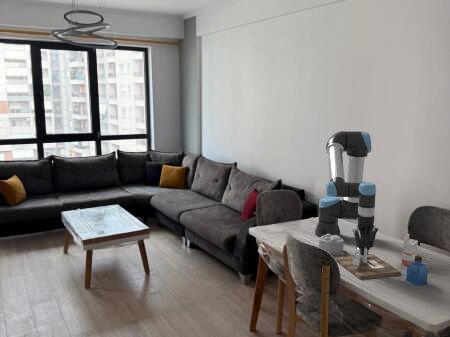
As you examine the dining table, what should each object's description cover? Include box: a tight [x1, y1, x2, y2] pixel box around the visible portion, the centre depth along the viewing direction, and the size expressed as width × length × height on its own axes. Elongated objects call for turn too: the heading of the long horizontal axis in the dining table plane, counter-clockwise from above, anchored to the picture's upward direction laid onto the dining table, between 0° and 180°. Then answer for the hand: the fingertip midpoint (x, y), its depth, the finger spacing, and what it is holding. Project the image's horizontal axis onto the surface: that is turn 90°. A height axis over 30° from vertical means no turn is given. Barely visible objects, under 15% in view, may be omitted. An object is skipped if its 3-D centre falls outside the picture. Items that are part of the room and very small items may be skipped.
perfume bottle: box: [405, 255, 429, 287], centre depth 188 cm, size 6×6×12 cm
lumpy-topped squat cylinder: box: [317, 234, 345, 256], centre depth 225 cm, size 10×13×9 cm
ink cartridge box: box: [401, 233, 419, 267], centre depth 208 cm, size 9×5×15 cm, turn 141°
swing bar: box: [353, 246, 361, 266], centre depth 206 cm, size 21×4×7 cm, turn 155°
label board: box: [334, 253, 402, 280], centre depth 204 cm, size 23×22×2 cm
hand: (363, 261), depth 201 cm, fingers closed
